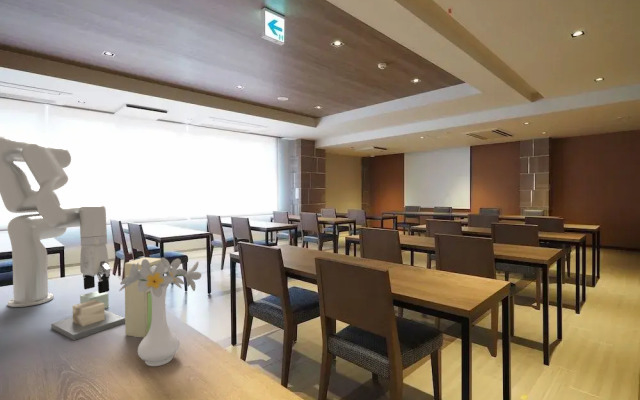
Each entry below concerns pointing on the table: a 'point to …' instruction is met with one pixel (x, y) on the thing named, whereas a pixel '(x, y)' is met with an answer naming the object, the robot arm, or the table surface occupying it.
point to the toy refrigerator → (138, 303)
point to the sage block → (95, 298)
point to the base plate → (78, 331)
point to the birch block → (88, 312)
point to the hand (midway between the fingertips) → (96, 290)
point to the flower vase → (159, 306)
